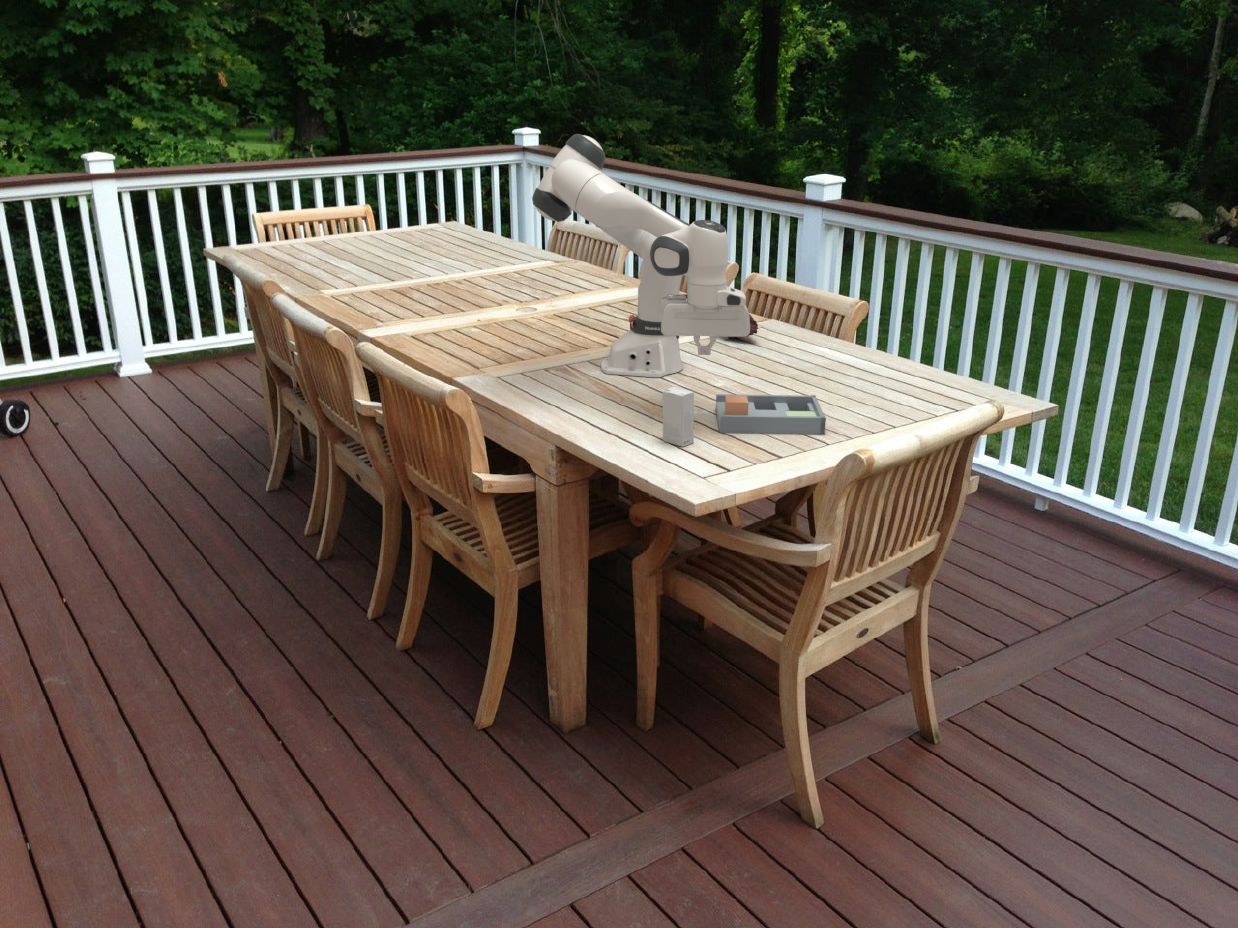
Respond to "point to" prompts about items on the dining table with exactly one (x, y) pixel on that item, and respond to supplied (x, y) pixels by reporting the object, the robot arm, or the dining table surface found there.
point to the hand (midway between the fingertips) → (704, 354)
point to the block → (736, 405)
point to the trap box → (773, 415)
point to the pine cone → (752, 327)
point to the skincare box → (678, 416)
